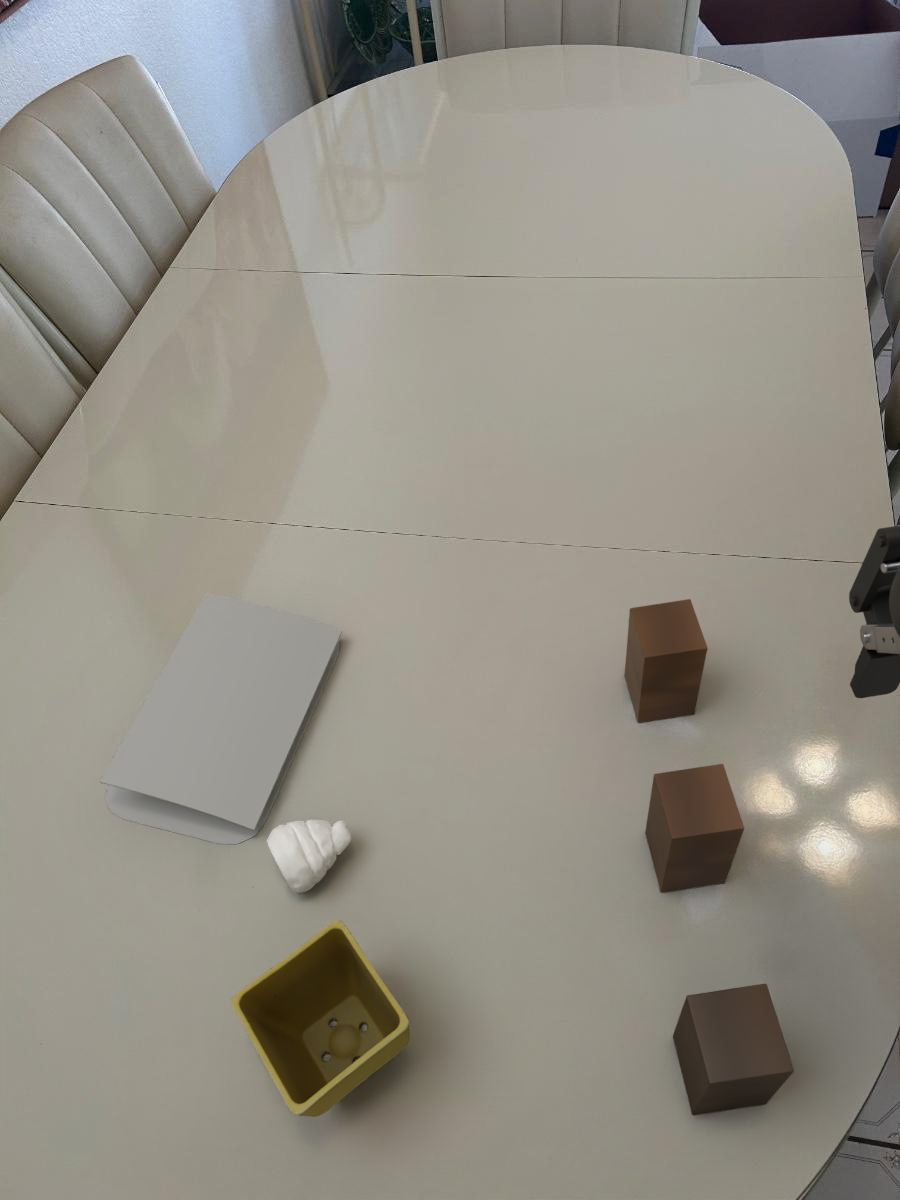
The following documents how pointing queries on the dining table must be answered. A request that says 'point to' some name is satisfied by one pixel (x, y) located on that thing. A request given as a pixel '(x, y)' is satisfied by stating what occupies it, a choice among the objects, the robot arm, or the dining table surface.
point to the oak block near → (731, 1049)
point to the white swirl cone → (307, 850)
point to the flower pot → (322, 1021)
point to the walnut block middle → (692, 827)
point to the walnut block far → (664, 660)
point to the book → (222, 721)
